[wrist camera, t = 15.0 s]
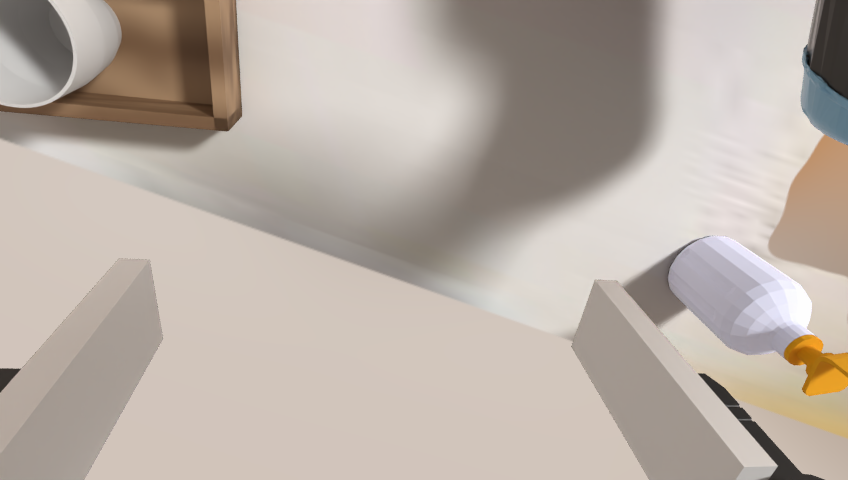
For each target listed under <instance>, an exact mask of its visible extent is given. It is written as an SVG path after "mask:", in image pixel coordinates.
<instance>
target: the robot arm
mask: <svg viewBox="0 0 848 480" xmlns="http://www.w3.org/2000/svg"><path fill="white" fill-rule="evenodd" d="M802 63H803V66H804V77H803V85H802V92H801V106H802V110H803V112H804V113H805V114H806V116H807V117H808V119H809V120H810V122H811V124H812V125H813V126H814V127H816V128H817V129H818V130H820V131H821V132H822V133H824V134H825V135H827V136H829V137H831V138H833V139H835V140H837V141H839V142H841V143H844V144H846V145H848V0H816V4H815V9H814V14H813V19H812V24H811V30H810V35H809V40H808V44H807V45H806V47H805V48H804V51H803V56H802ZM162 340H163V335H162V329H161V324H160V319H159V312H158V306H157V300H156V294H155V288H154V282H153V276H152V270H151V265H150V260H140V259H118V260H117V261H116V263H115V264H114V265H113V266H112V267H111V268H110V269H109V271H108V272H107V273H106V274H105V275H104V276H103V277H102V278H101V279H100V281H99V282H98V283H97V284H96V285H95V286H94V288H92V290H91V291H90V292H89V293H88V294H87V295H86V296H85V298H84V299H83V300H82V301H81V302H80V303H79V304H78V305H77V307H76V308H75V309H74V310H73V311H72V312H71V313H70V315H69V316H68V317H67V318H66V319H65V320H64V321H63V322H62V324H61V325H60V326H59V327H58V328H57V329H56V330H55V332H54V333H53V334H52V335H51V336H50V337H49V338H48V339H47V341H46V342H45V343H44V344H43V345H42V346H41V347H40V348H39V350H38V351H37V352H36V353H35V354H34V355H33V356H32V357H31V359H30V360H29V361H28V362H27V363H26V364H25V365H24V366H23V368H22V369H0V480H84V479H85V477H86V476H87V474H88V472H89V470H90V469H91V467H92V465H93V463H94V461H95V460H96V458H97V456H98V454H99V452H100V451H101V449H102V447H103V445H104V443H105V442H106V440H107V438H108V436H109V435H110V432H111V431H112V429H113V427H114V426H115V424H116V422H117V420H118V418H119V417H120V415H121V413H122V411H123V410H124V408H125V406H126V404H127V402H128V401H129V399H130V397H131V395H132V393H133V391H134V390H135V388H136V386H137V385H138V383H139V381H140V379H141V377H142V376H143V374H144V372H145V370H146V368H147V367H148V365H149V363H150V361H151V359H152V357H153V355H154V354H155V352H156V351H157V349H158V347H159V345H160V343H161V342H162ZM571 347H572V348H573V350H574V352H575V353H576V355H577V357H578V359H579V360H580V362H581V364H582V366H583V367H584V369H585V370H586V372H587V374H588V376H589V378H590V379H591V381H592V383H593V384H594V386H595V388H596V390H597V391H598V393H599V395H600V396H601V398H602V400H603V402H604V403H605V405H606V407H607V408H608V410H609V412H610V413H611V415H612V417H613V419H614V420H615V422H616V424H617V425H618V427H619V429H620V431H621V432H622V434H623V436H624V437H625V439H626V441H627V443H628V444H629V446H630V448H631V449H632V451H633V453H634V455H635V456H636V458H637V460H638V461H639V463H640V465H641V467H642V468H643V470H644V472H645V473H646V475H647V477H648V479H649V480H824V479H821V478H819V477H816V476H813V475H807V474H802V473H801V472H800V471H799V470H798V469H797V468H796V467H795V466H794V464H793V463H792V462H791V461H790V460H789V459H788V458H787V457H786V456H785V455H784V453H783V452H782V451H781V450H780V449H779V448H778V447H777V446H776V445H775V444H774V442H773V441H772V440H771V439H770V438H769V437H768V436H767V435H766V433H765V432H764V431H763V430H762V429H761V428H760V427H759V426H758V425H757V423H756V422H753V421H752V420H751V417H750V416H749V415H748V414H747V413H746V411H745V410H744V409H743V408H740V407H739V404H738V402H737V401H736V400H735V399H734V398H733V397H732V396H731V395H730V394H729V393H728V391H727V390H726V389H725V388H724V387H722V386H721V385H720V384H718V383H717V382H716V381H714V380H713V379H711V378H710V377H709V376H707V375H706V374H698V373H697V372H696V371H695V370H694V369H693V368H692V367H691V365H690V364H689V363H688V362H687V361H686V360H685V358H684V357H683V356H682V355H681V354H680V353H679V352H678V350H677V349H676V348H675V347H674V346H673V345H672V344H671V342H670V341H669V340H668V339H667V338H666V337H665V335H664V334H663V333H662V332H661V331H660V330H659V329H658V327H657V326H656V325H655V324H654V323H653V322H652V321H651V319H650V318H649V317H648V316H647V315H646V314H645V312H644V311H643V310H642V309H641V308H640V307H639V306H638V304H637V303H636V302H635V301H634V300H633V299H632V297H631V296H630V295H629V294H628V293H627V292H626V291H625V289H624V288H623V287H622V286H621V285H620V284H619V283H618V281H612V280H595V281H594V284H593V287H592V289H591V292H590V295H589V298H588V301H587V304H586V306H585V309H584V312H583V315H582V318H581V321H580V323H579V326H578V329H577V332H576V335H575V338H574V340H573V343H572V346H571Z"/></svg>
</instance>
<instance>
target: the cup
mask: <svg viewBox="0 0 848 480" xmlns="http://www.w3.org/2000/svg"><path fill="white" fill-rule="evenodd" d="M121 38H122V32H121V26H120V23H119V20H118V18H117V16H116V14H115V13H114V11H113V10H112V9H111V7H110V6H109V5H108V4H107V3H106V2H105V1H104V0H0V104H1V105H5V106H10V107H17V108H32V107H38V106H42V105H46V104H48V103H51V102H53V101H55V100H57V99H59V98H61V97H63V96H65V95H67V94H69V93H71V92H73V91H75V90H77V89H79V88H81V87H83V86H84V85H86V84H88V83H89V82H90V81H92V80H93V79H94V78H95V77H96V76H97V75H98V74H100V73H101V72H102V71H103V70H104V69H105V68H106V67H108V66H109V65H110V63H111V62H112V61H113V59H114V57H115V55H116V53H117V51H118V48H119V46H120V43H121Z"/></svg>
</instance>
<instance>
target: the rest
mask: <svg viewBox="0 0 848 480" xmlns="http://www.w3.org/2000/svg"><path fill="white" fill-rule="evenodd" d="M104 1H105V2H106V3H107V4H108V5H109V6H110V7H111V9H112V10H113V11H114V13H115V14H116V16H117V18H118V20H119V23H120V26H121V32H122V38H121V43H120V46H119V48H118V51H117V53H116V55H115V57H114V59H113V61H112V62H111V63H110V65H109V66H108V67H106V68H105V69H104V70H103V71H102V72H101V73H100V74H98V75H97V76H96V77H95V78H94V79H93V80H92V81H90V82H89V83H88V84H86V85H84V86H83V87H81V88H79V89H77V90H75V91H73V92H71V93H69V94H67V95H65V96H63V97H61V98H59V99H57V100H55V101H53V102H51V103H48V104H46V105H42V106H38V107H32V108H17V107H10V106H5V105H1V104H0V111H4V112H15V113H27V114H38V115H49V116H60V117H72V118H83V119H94V120H106V121H117V122H128V123H139V124H151V125H162V126H173V127H184V128H196V129H207V130H218V131H229V130H230V129H231V128H232V127H233V125H234V124H235V123H236V122H237V121H238V120H239V119H240V118H241V117H242V105H241V86H240V68H239V49H238V31H237V12H236V0H104Z"/></svg>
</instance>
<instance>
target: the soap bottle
mask: <svg viewBox="0 0 848 480" xmlns="http://www.w3.org/2000/svg"><path fill="white" fill-rule="evenodd" d="M668 282H669V287H670V290H671V291H672V292H673V293H674V294H675V296H676V297H677V298H678V299H679V300H680V301H681V302H682V303H683V304H684V305H685V306H686V307H687V308H688V309H690V310H691V311H692V312H693V313H694V314H695V315H696V316H697V317H698V318H699V319H700V320H701V321H702V322H703V323H704V324H705V325H706V326H707V327H708V328H709V329H710V330H711V331H712V332H713V333H714V334H715V335H716V336H717V337H718V338H719V339H720V340H721V341H722V342H723V343H724V344H725V345H726V346H727V347H729V348H731V349H733V350H736V351H738V352H741V353H743V354H746V355H761V354H769V353H773V352H778V353H779V354H780V355H781V356H782V357H783V358H784V359H786V360H787V361H788V362H789V363H791V364H793V365H803V364H806V365H807V367H806V373H807V374H808V377H807V379H806V381H805V383H804V386H803V388H802V390H803V392H804V393H805V394H806V395H808V396H812V395H819V394H826V393H832V392H839V391H841V390H843V389H845V388H846V387H847V386H848V353H841V354H832V353H824V354H823V353H821V351H822V349H823V343H822V341H821V340H820V339H819V338H817V336H815V335H814V334H813V333H811V332H810V331H809V330H808V329H806V328H807V325H808V323H809V321H810V317H811V300H810V299H809V297H808V295H807V294H806V292H805V291H804V289H803V288H802V286H801V285H800V284H798V283H797V282H795V281H794V280H792V279H791V278H790V277H788V276H787V275H785V274H784V273H782V272H781V271H779V270H778V269H776V268H775V267H773V266H772V265H770V264H769V263H767V262H766V261H765V260H763V259H762V258H760V257H759V256H757V255H756V254H754V253H753V252H751V251H750V250H748V249H747V248H745V247H744V246H742V245H741V244H740V243H738V242H737V241H735V240H733V239H731V238H729V237H727V236H710V237H706V238H702V239H699V240H697V241H696V242H694V243H692V244H690V245H689V246H687V247H686V248H685V249H684V250H683V251H682V252H681V253H680V254H679V255H678V256H677V257H676V258H675V260H674V262H673V263H672V265H671V267H670V270H669V275H668Z"/></svg>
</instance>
